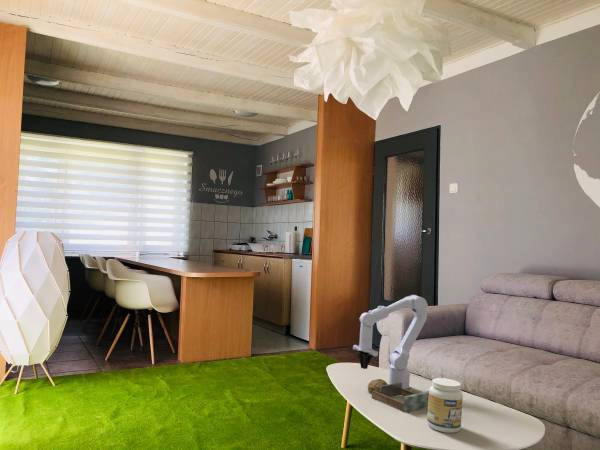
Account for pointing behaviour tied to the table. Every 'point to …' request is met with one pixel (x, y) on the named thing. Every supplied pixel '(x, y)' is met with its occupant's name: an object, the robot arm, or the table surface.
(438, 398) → the supplement tub
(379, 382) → the bread roll
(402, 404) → the brown wooden tray
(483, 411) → the table surface
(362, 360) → the robot arm
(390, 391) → the pusher plate
